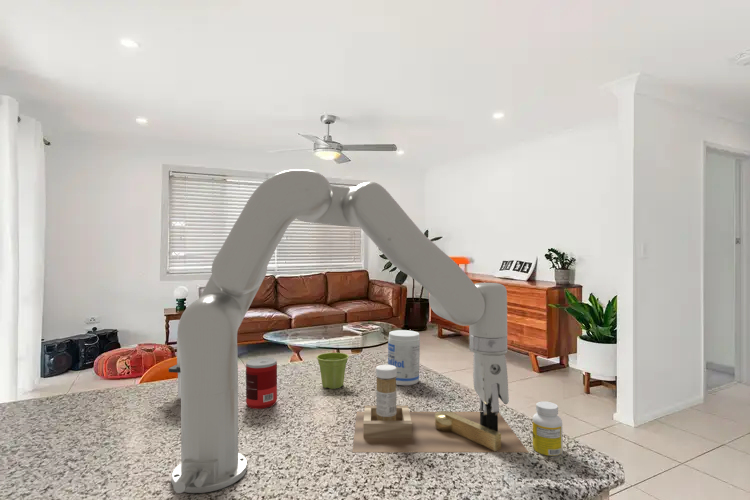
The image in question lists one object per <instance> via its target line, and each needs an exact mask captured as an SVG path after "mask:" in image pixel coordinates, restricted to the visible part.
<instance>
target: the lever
mask: <svg viewBox="0 0 750 500" xmlns="http://www.w3.org/2000/svg"><path fill="white" fill-rule="evenodd" d="M436 412H437V413H435V427H436V428H437V429H439V430H442V431H452V432H455V433H457V434H459V435H461V436H463V437H465V438H468V439H470V440H472V441H474V442H476V443H478V444H481V445H483V446H485V447H487V448H489V449H491V450H494V451H497V450H499V449H501V433H499V432H497V431H495V430H492V429H490V428H487V427H485V426H482V425H480V424H478V423H475V422H473V421H470V420H468V419H466V418H463V417H461V416H458V415H457V414H456V413H454V412H455V411H449V410H441V411H436Z"/></svg>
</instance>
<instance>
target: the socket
mask: <svg viewBox="0 0 750 500" xmlns="http://www.w3.org/2000/svg"><path fill="white" fill-rule="evenodd" d="M363 412H364V423H363V438H412V422H411V417H410V412H411V411H410V409H409V405H397V404H396V421H377V413H376V404H375V405H364V411H363Z"/></svg>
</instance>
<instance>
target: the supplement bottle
mask: <svg viewBox="0 0 750 500" xmlns="http://www.w3.org/2000/svg"><path fill="white" fill-rule="evenodd" d="M535 411H536V413H534V414H533V416H532V449H533V451H534V452H535V453H536V454H539V455H541V456H546V457H550V458H551V457H552V458H554V457H555V458H556V457H561V456H562V455H563V452H564V451H563V450H564V449H563V444H564V443H563V419H562V418H561V417H560V416H559V405H558V404H557V403H554V402H551V401H544V400H542V401H538V402H536V403H535Z"/></svg>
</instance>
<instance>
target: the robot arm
mask: <svg viewBox="0 0 750 500" xmlns="http://www.w3.org/2000/svg"><path fill="white" fill-rule="evenodd" d="M295 220H298V221H301V222H304V223H312V224H321V225H331V226H337V227H339V226H340V227H349V228H360V229H361V230H362V231H363V232H364V233H365V234H366V236H367V237H368V238H369V239H370V240H371V241H372V242H373V244H375V245H376V247H377V248H378V249H379V250H380V252H381V253H382V254H383V255H384V257H385V258H386V259H387V260H388V261H389V262H390V263H391V264H392V265H393V266H394V267H395V268H397V269H398V270H399V271H400V272H403V274H405V275H407V276H408V277H410V278H412V279H413V280H415V281H416V283H418V284H420V285H421V286H422V287H423V288H424V289H425V290H426V291H427V292H428V293H429V295H428V296H429V297H428V303H429V308H431V310H432V311H433V313H434V314H435V315H437V316H438V317H440V318H442V319H445V320H447V321H448V322H449V321H450V322H451V323H454V324H455V325H459V326H463V327H466V326H469V327H468V328H469V330H468V331H469V332H468V333H469V351H470V352H471V353H473V362H472V363H473V364H472V367H473V368H472V377H473V380H472V381H473V389H474V392H475V393H476V395H477V396H478V397H479V409H480V410H479V412H480V425H482V426H485V427H487V428H490V429H492V430H495V431H497V432H498V413H500V402H499V400H500V401H501V402H502V403H503V404H505V405H508V404H509V403H510V402H509V401H510V400H509V398H510V397H509V396H510V395H509V379H508V365H507V357H506V354H507V353H508V292H507V288H506V286H505V285H503V284H502V283H499V282H498V283H497V282H477V283H474V282H473V281H472V279H471V278H470V277H469V276H468V274H466V272H465V271H464V270H463V269H462V268H461V266H459V264H458V263H456V261H454V260H453V259H452V258H451V257H450V256H449V255H448V254H447V253H445V252H444V251H443V250H442V249H441V248H439V246H438V245H437V244H436V243H434V242H433V241H432V240H431V239H429V238H428V237H427V236H426V235H425V234H424V233H423V231H422V230H421V229H420V228H419V227H418V226H417V224H415V222H414V221H413V220H412V218H410V216H409V215H408V213H406V212H405V210H403V208H402V207H401V205H400V204H399V203H398V202H397V201H396V199H394V197H393V196H392V195H391V194H390V193H389V191H387V190H386V188H385V187H384V186H382V185H381V184H380V183H377V182H375V181H365V182H362V183H359V184H357V185H356V186H344V185H335V184H330V182H329V180H328V179H327V178H326V177H325V175H323V174H321V173H320V172H317V171H316V170H312V169H299V168H298V169H297V168H295V169H288V170H283V171H281V172H279V173H276V174H274V175H272V176H270V177H268V178H267V179H266V180H264V181H262V183H261V184H260V185H259V186H258V187H257V188H256V189H255V190H254V191H253V193H252V194H251V195H250V197H249V199H248V200H247V202H246V204H245V205H244V207H243V209H242V211H241V213H240V214H239V216H238V218H237V219H236V221H235V222H234V224H233V226H232V228H231V229H230V232H229V233H228V236H227V237H226V239H225V241H224V242H223V244H222V246H221V248H220V249H219V251H218V252H217V254H216V255H215V257H214V259H213V262H212V265H211V274H210V276H209V279H208V280H207V283H206V285H205V286H204V289H203V290H202V293H201V294H200V296H199V298H197V299H195V300H194V301H193V302H192V303H190V304H189V305H188V306H187V307H186V308H185V310H184V311H183V312H182V314H181V316H180V319H179V322H178V326H177V334H176V335H177V338H178V348H179V356H180V372H181V398H180V435H181V436H180V460H181V461H180V463H179V464H178V465H177V466H176V467H175V468H174V469H173V471H172V472H171V479H170V480H171V485H172V487H173V490H174V492H175V493H177V494H182V493H187V494H188V493H190V494H203V493H210V492H215V491H219V490H222V489H225V488H227V487H230V486H231V485H233V484H235V483H236V482H238V481H239V480H240V479H242V478H243V477H244V476H245V474H246V473H247V470H248V460H247V458H246V457H245V456H244V455H243V454H241V453H239V365H238V364H239V360H238V359H239V358H238V330H239V328H240V326H241V325H242V323H243V320H244V318H245V316H246V315H247V312H248V310H249V308H250V306H251V305H252V303H253V300H254V298H255V297H256V295H257V293H258V291H259V290H260V287H261V285H262V283H263V281H264V280H265V277H266V276H267V272H268V265H269V264H270V261H271V259H272V258H273V255H274V254H275V252H276V249H277V247H278V246H279V244H280V242H281V241H282V239H283V236H284V235H285V233H286V231H287V229H288V228H289V226H290V225H291V224H292V223H293V221H295Z"/></svg>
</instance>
